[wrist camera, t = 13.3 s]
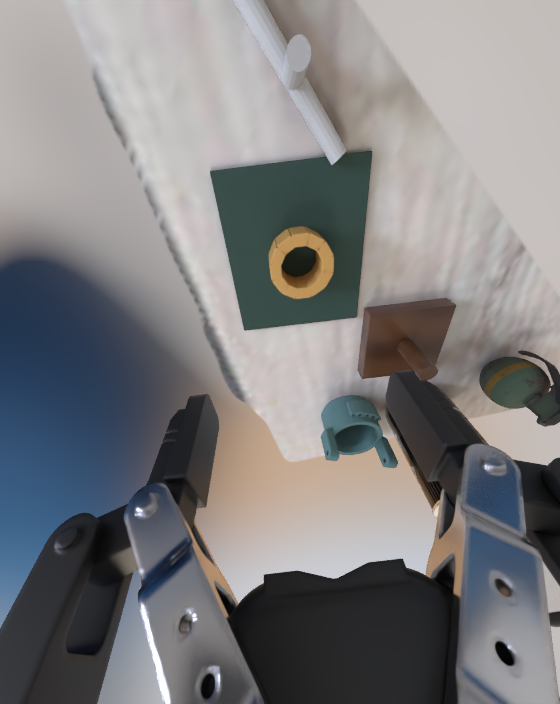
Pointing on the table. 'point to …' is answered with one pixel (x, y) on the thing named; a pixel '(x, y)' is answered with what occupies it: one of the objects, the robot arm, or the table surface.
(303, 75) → the pipe joint
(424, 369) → the tape holder
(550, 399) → the hand grenade
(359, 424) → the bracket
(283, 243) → the tape roll
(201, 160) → the table surface
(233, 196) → the desk mat
